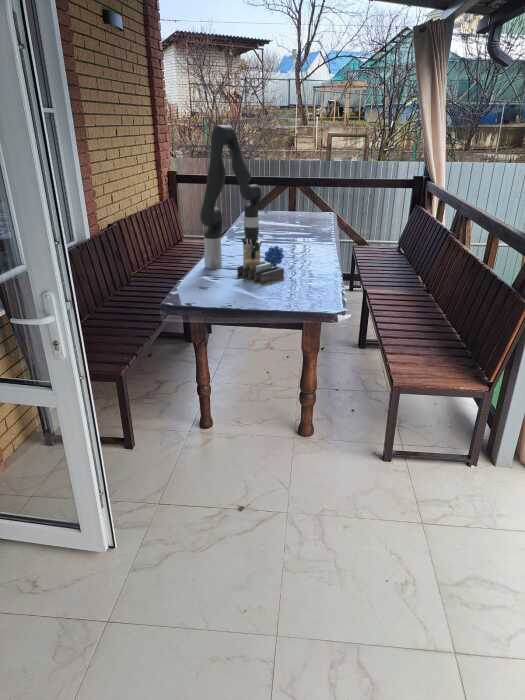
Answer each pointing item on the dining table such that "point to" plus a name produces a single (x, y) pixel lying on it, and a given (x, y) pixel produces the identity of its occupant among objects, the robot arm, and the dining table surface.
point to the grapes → (274, 256)
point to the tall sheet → (249, 256)
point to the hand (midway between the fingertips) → (251, 258)
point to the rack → (261, 274)
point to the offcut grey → (263, 266)
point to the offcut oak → (253, 265)
